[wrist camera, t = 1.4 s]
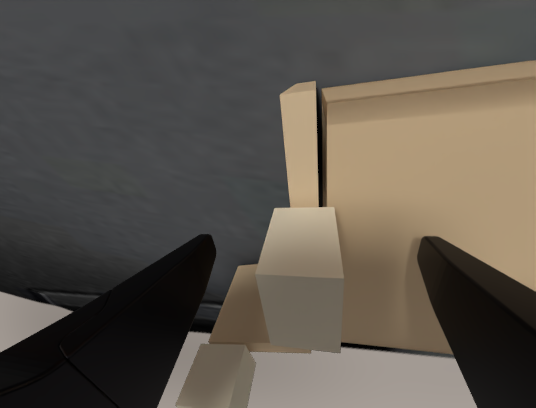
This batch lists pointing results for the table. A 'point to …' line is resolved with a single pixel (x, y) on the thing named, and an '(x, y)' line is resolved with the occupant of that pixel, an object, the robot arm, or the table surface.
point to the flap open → (231, 349)
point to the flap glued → (302, 243)
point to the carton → (427, 189)
